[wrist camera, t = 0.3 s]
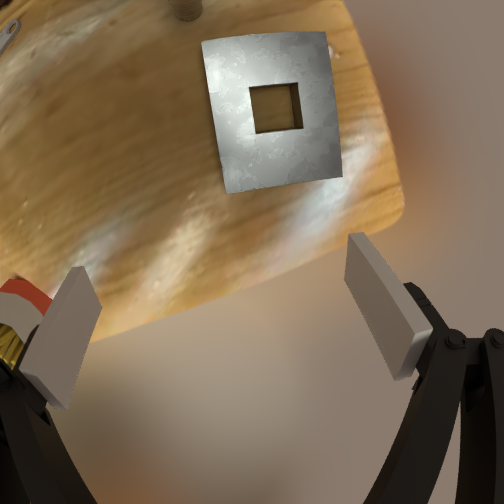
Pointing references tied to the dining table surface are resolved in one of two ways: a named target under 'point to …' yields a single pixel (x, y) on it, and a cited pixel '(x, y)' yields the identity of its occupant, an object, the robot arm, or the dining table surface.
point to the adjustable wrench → (8, 35)
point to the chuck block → (303, 101)
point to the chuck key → (187, 9)
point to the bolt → (3, 2)
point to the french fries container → (19, 316)
